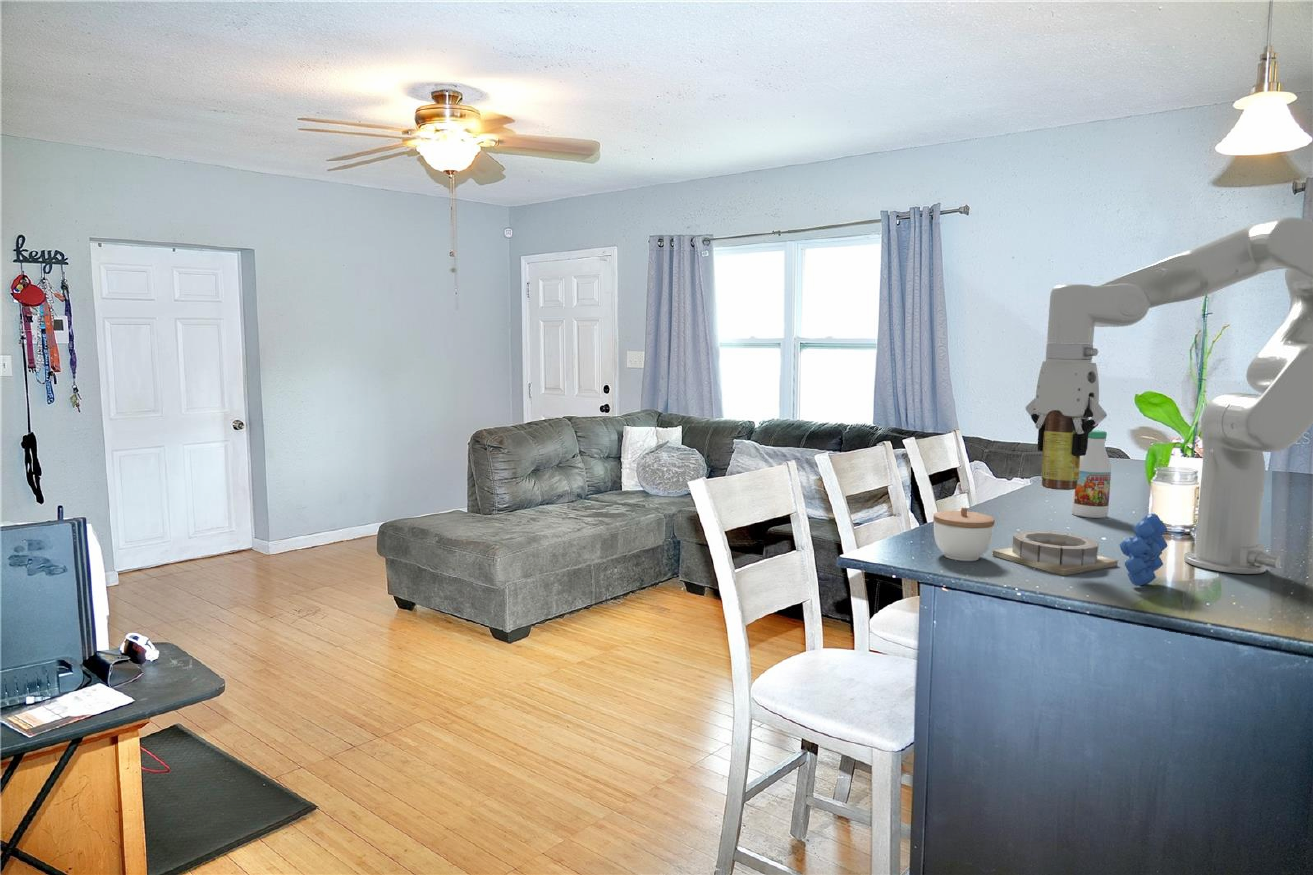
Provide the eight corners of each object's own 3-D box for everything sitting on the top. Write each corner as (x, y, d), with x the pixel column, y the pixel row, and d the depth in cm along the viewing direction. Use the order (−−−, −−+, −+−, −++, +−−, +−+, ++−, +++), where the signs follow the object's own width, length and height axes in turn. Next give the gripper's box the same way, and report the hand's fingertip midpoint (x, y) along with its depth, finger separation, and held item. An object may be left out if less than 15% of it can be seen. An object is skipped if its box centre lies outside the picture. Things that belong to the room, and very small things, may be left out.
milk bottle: (1063, 512, 203) (1069, 429, 200) (1089, 511, 205) (1095, 428, 203) (1088, 519, 195) (1095, 432, 193) (1115, 517, 198) (1122, 432, 195)
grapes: (1130, 573, 150) (1136, 506, 149) (1172, 581, 145) (1179, 512, 144) (1101, 584, 143) (1107, 514, 141) (1145, 594, 138) (1151, 521, 136)
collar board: (1117, 565, 155) (1119, 544, 154) (1063, 575, 148) (1065, 553, 147) (1045, 547, 168) (1046, 527, 167) (992, 555, 161) (993, 534, 160)
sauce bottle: (1082, 492, 152) (1091, 381, 150) (1044, 490, 154) (1053, 380, 151) (1072, 486, 159) (1080, 379, 156) (1036, 484, 160) (1044, 378, 157)
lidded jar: (961, 547, 167) (964, 500, 165) (1005, 561, 157) (1008, 511, 156) (919, 552, 162) (921, 504, 161) (961, 567, 152) (964, 515, 151)
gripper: (1127, 355, 148) (1119, 458, 150) (1040, 353, 163) (1034, 446, 165) (1100, 355, 144) (1092, 460, 146) (1014, 352, 159) (1007, 448, 161)
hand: (1061, 452), depth 155 cm, fingers closed on sauce bottle, 6 cm apart
